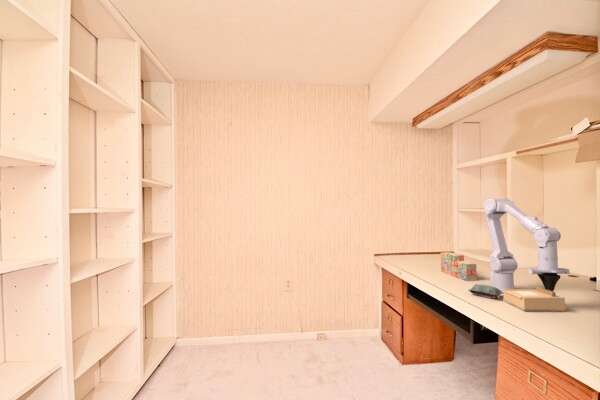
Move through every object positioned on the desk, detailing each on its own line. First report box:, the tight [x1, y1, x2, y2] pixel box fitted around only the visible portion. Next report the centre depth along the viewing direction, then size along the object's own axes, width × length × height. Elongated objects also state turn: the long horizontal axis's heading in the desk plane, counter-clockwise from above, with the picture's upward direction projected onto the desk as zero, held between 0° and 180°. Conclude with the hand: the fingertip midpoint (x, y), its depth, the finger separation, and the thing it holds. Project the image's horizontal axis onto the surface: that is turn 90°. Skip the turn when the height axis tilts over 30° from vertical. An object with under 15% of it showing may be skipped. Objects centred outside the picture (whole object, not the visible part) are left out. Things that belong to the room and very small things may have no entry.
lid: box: [505, 286, 560, 299], centre depth 107 cm, size 8×15×2 cm, turn 87°
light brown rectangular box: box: [502, 288, 566, 313], centre depth 107 cm, size 11×15×5 cm
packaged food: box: [467, 283, 504, 299], centre depth 120 cm, size 9×12×5 cm
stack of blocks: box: [440, 251, 478, 282], centre depth 154 cm, size 21×6×12 cm, turn 7°
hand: (549, 291), depth 106 cm, fingers closed
